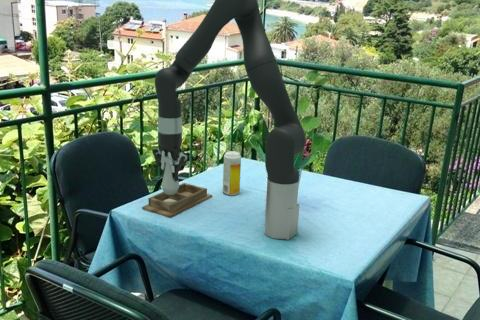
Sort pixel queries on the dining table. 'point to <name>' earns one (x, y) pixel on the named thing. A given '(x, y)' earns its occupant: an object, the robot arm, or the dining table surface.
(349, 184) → the dining table surface
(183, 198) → the slot caddy
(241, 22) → the robot arm
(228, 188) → the white yellow canister
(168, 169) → the salt shaker
